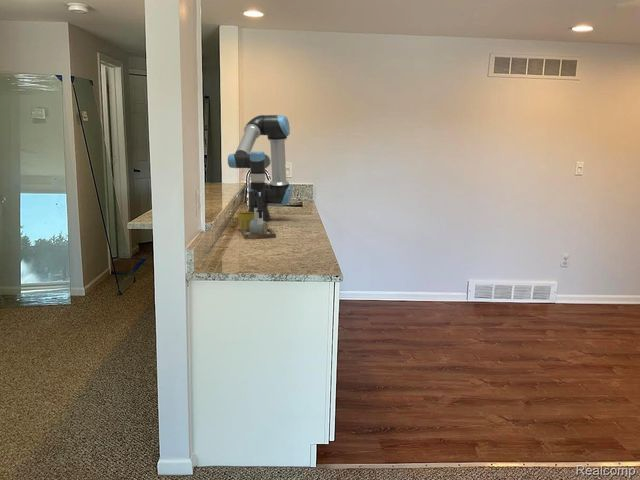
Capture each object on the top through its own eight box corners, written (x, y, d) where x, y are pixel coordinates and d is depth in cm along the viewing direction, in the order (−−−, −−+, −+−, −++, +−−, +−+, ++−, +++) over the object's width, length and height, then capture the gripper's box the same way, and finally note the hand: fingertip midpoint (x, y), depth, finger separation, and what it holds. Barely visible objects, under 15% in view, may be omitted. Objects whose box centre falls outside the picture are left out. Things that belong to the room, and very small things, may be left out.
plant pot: (258, 229, 294) (258, 212, 292) (254, 232, 284) (254, 214, 282) (240, 228, 295) (240, 211, 293) (235, 231, 285) (235, 214, 283)
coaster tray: (241, 233, 280) (241, 229, 280) (271, 232, 284) (271, 228, 284) (244, 239, 265) (244, 234, 264) (275, 238, 269) (275, 233, 268)
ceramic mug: (263, 235, 269) (263, 221, 268) (249, 234, 271) (248, 220, 270) (270, 232, 279) (270, 218, 278) (256, 231, 281) (256, 217, 280)
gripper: (247, 179, 280) (248, 218, 284) (253, 184, 256) (254, 226, 261) (261, 179, 282) (262, 217, 286) (268, 184, 258) (269, 226, 263)
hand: (258, 222), depth 274 cm, fingers open, 13 cm apart
